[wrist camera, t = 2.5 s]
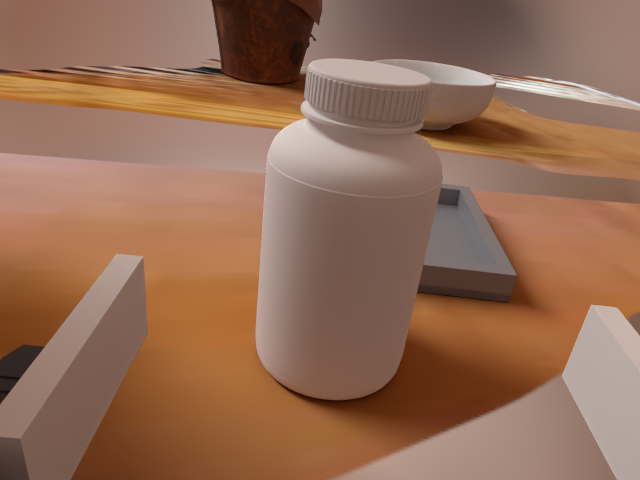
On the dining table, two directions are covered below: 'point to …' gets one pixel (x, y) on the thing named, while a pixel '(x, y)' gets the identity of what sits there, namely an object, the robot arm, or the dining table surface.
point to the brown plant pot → (264, 37)
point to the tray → (465, 251)
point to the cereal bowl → (451, 92)
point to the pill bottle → (346, 229)
